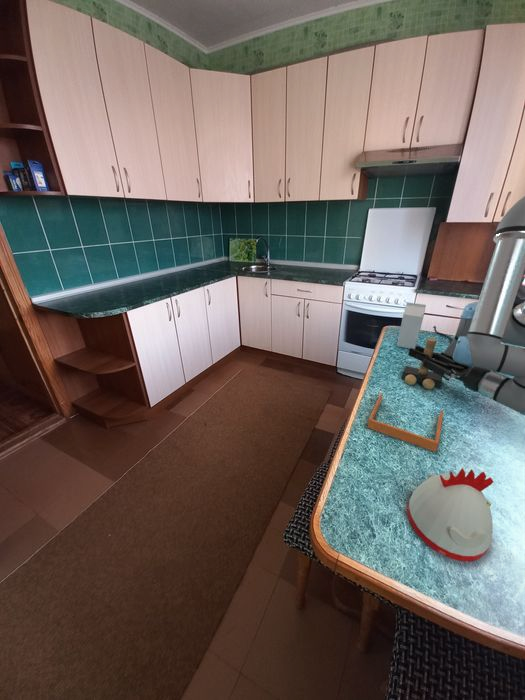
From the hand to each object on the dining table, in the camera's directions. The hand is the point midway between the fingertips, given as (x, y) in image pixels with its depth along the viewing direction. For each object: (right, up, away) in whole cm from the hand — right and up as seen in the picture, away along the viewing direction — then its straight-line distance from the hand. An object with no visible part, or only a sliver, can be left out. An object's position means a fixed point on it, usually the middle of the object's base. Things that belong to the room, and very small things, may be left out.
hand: (412, 350), depth 103 cm
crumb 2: (+3, -11, -5) cm, 13 cm away
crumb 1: (-2, -10, -3) cm, 11 cm away
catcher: (-12, -21, -19) cm, 31 cm away
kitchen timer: (-17, -35, -45) cm, 59 cm away
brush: (+3, -11, 0) cm, 11 cm away
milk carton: (+10, +2, +25) cm, 27 cm away
